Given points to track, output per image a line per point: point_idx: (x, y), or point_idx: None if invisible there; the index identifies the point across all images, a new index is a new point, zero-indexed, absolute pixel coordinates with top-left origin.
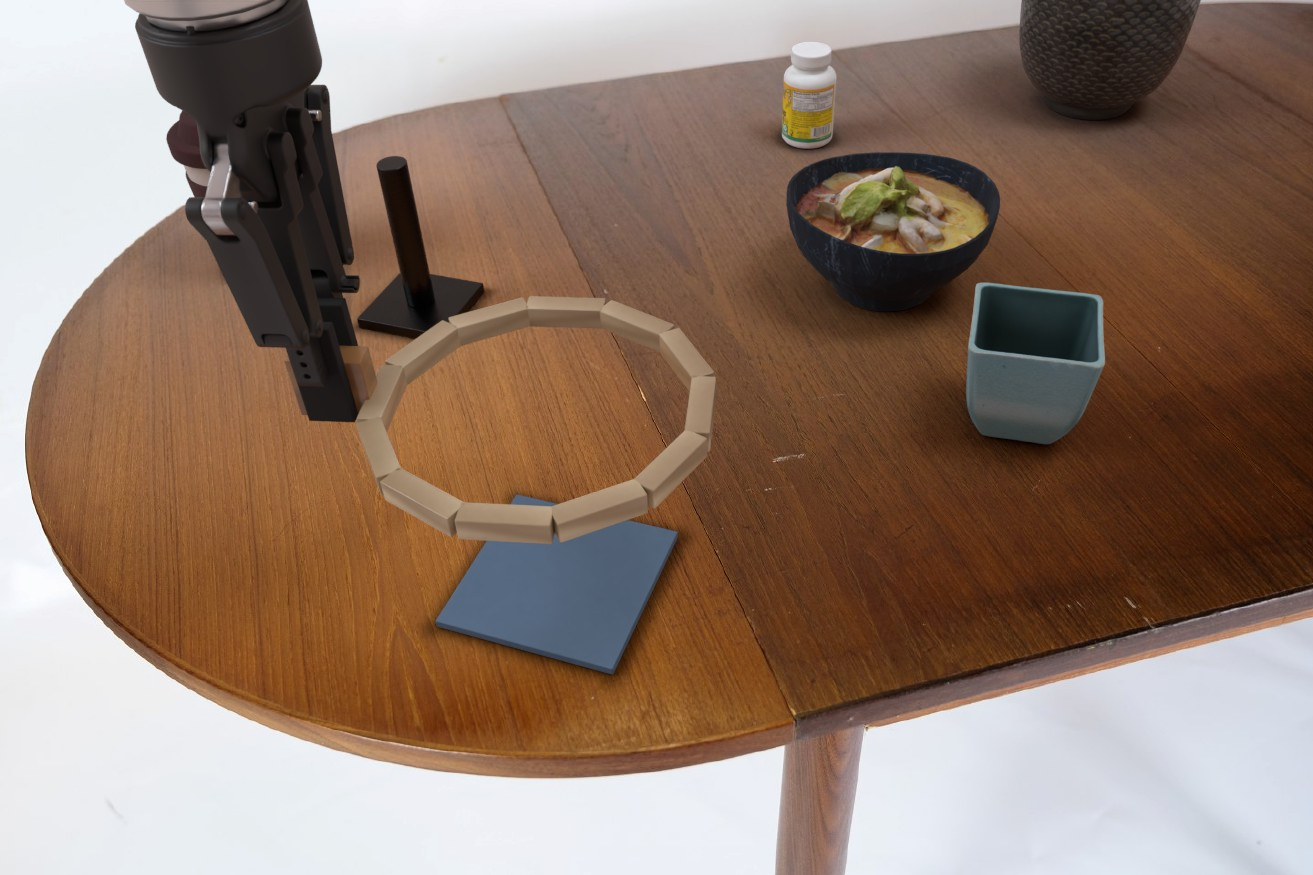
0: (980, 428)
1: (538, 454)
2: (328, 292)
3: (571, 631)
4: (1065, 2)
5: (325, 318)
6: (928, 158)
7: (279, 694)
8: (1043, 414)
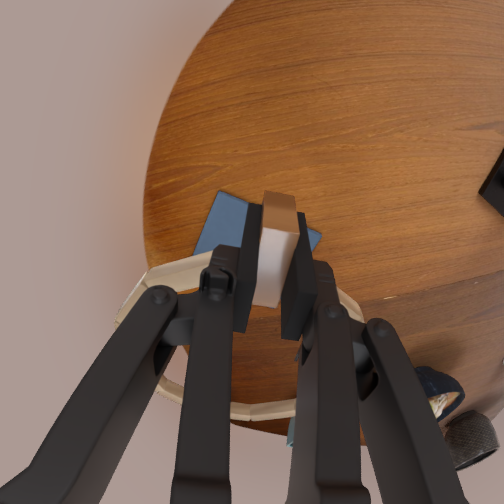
0: None
1: (359, 245)
2: (303, 334)
3: None
4: (471, 449)
5: (287, 305)
6: (440, 419)
7: (171, 105)
8: (294, 418)
